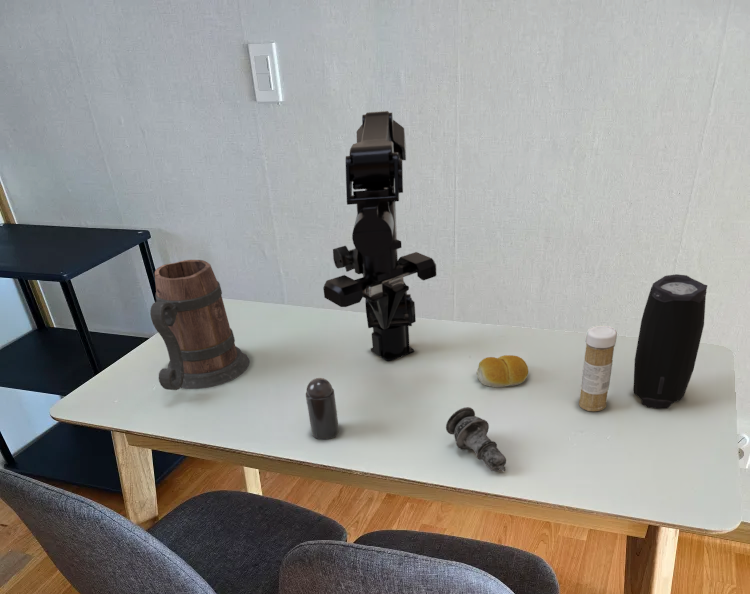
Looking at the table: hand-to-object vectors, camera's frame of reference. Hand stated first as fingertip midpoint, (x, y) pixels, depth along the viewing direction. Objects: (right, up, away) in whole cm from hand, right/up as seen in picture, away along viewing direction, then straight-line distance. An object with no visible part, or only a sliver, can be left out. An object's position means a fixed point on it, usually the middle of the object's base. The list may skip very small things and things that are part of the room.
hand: (384, 328), depth 118 cm
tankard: (-36, -5, +18) cm, 41 cm away
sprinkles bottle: (+35, -14, -1) cm, 37 cm away
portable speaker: (+46, -12, -1) cm, 47 cm away
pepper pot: (-10, -18, -2) cm, 20 cm away
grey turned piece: (+12, -17, -9) cm, 22 cm away
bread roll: (+21, -7, +8) cm, 24 cm away
